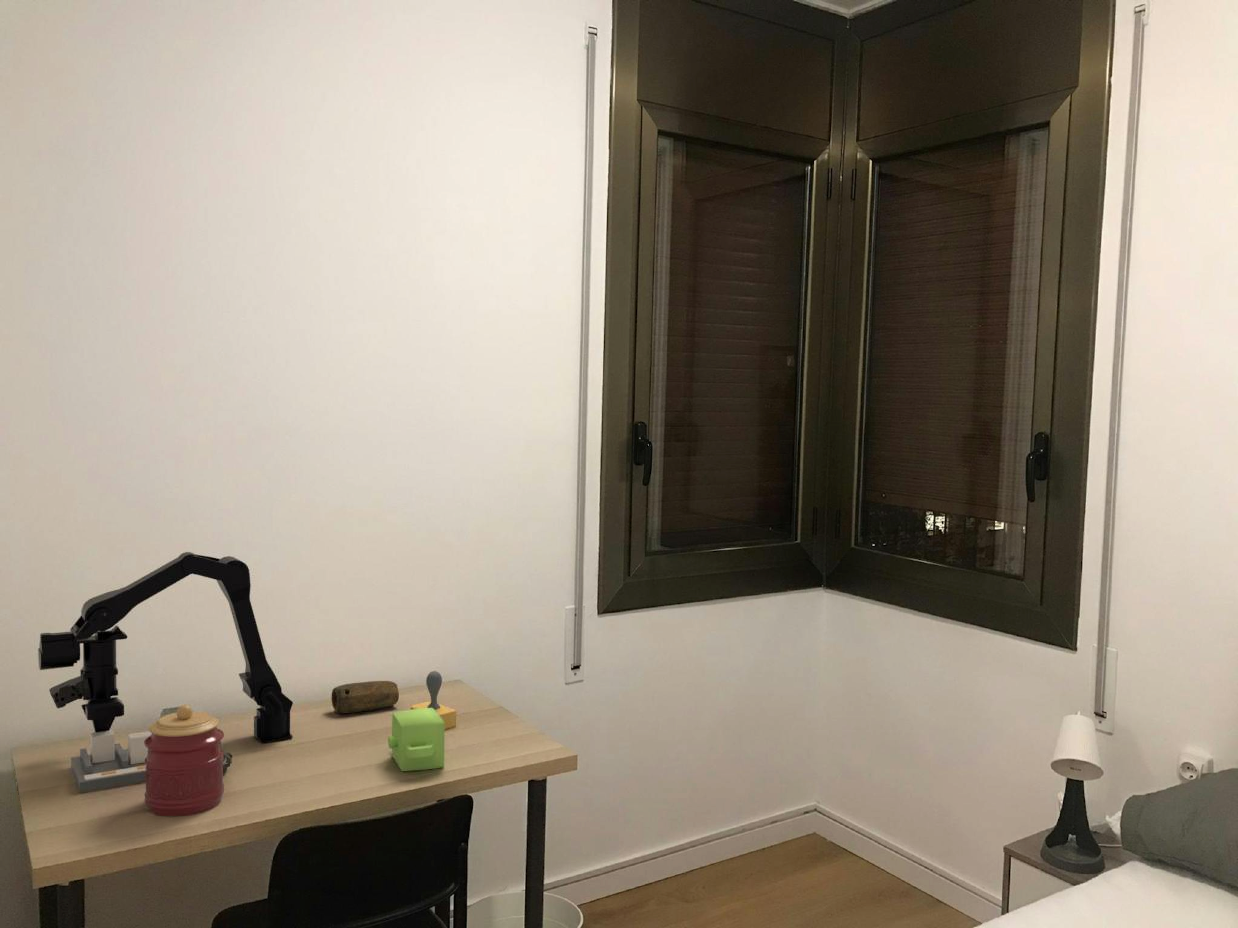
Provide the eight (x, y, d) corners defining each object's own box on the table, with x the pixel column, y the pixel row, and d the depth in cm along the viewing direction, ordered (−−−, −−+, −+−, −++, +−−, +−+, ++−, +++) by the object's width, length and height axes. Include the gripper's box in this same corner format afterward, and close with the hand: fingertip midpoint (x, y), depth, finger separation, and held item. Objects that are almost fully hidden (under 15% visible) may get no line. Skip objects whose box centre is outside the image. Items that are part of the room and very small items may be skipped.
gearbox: (379, 749, 211) (379, 704, 210) (427, 744, 214) (427, 699, 214) (396, 779, 194) (397, 730, 194) (447, 773, 198) (448, 725, 197)
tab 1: (112, 755, 198) (112, 729, 197) (114, 759, 195) (114, 734, 195) (90, 758, 196) (90, 733, 195) (92, 763, 193) (92, 737, 193)
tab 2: (149, 756, 198) (149, 730, 197) (152, 760, 195) (152, 735, 195) (128, 759, 195) (128, 734, 195) (130, 764, 193) (130, 738, 193)
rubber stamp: (457, 726, 227) (457, 673, 226) (435, 731, 223) (436, 677, 222) (430, 716, 234) (431, 664, 233) (409, 721, 229) (410, 668, 229)
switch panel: (160, 753, 205) (160, 736, 205) (174, 776, 193) (174, 758, 193) (70, 767, 196) (70, 749, 196) (79, 793, 184) (79, 774, 184)
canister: (231, 808, 179) (231, 709, 178) (150, 823, 172) (150, 720, 171) (215, 784, 190) (215, 690, 189) (139, 797, 183) (138, 700, 182)
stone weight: (340, 719, 230) (341, 690, 229) (328, 711, 235) (328, 683, 235) (401, 708, 239) (402, 680, 239) (388, 701, 244) (389, 673, 244)
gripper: (48, 657, 200) (49, 735, 201) (56, 680, 185) (57, 764, 186) (111, 650, 206) (111, 726, 207) (124, 672, 191) (124, 754, 192)
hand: (100, 742), depth 198 cm, fingers closed
